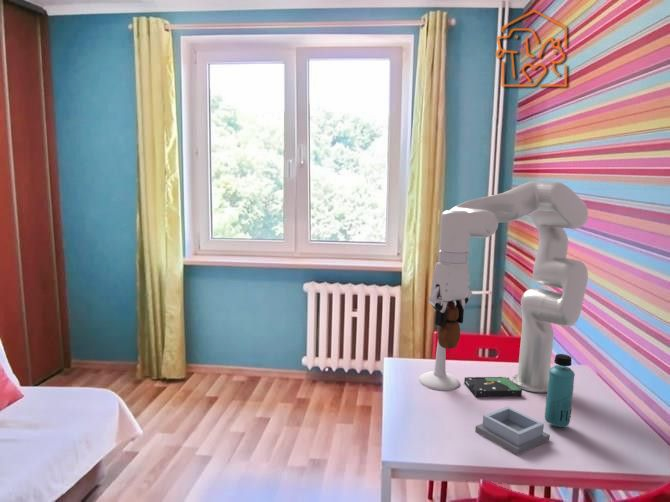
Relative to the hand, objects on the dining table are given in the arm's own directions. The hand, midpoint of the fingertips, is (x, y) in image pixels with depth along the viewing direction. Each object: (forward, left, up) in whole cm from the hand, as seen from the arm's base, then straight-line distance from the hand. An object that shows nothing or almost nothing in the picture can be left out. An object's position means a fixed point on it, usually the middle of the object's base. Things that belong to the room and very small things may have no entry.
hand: (449, 323), depth 134 cm
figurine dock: (-9, +16, -27) cm, 33 cm away
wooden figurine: (0, 0, -7) cm, 7 cm away
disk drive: (-27, -5, -28) cm, 39 cm away
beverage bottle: (-24, +19, -27) cm, 41 cm away
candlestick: (-17, -18, -28) cm, 37 cm away
